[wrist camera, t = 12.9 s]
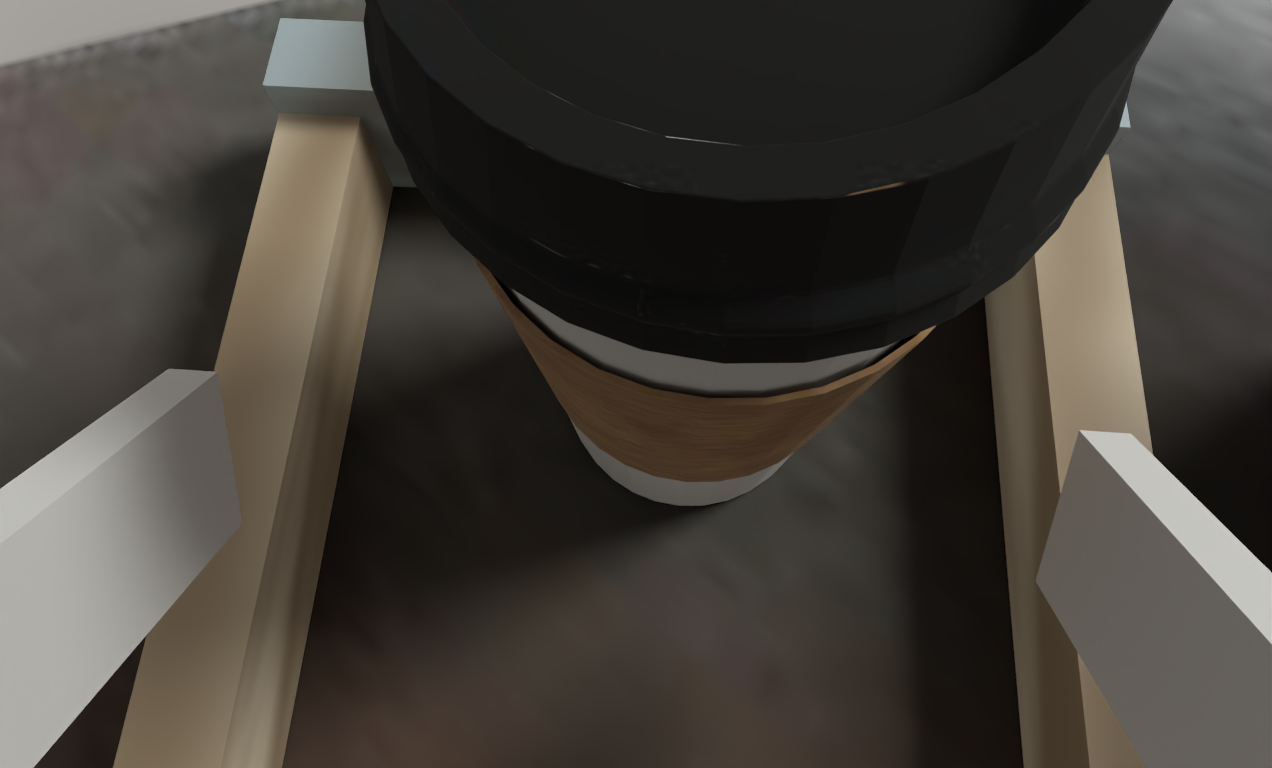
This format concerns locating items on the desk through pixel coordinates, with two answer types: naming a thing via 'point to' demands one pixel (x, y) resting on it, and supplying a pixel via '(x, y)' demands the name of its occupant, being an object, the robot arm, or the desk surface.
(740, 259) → the coffee cup
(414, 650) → the desk surface
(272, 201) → the guide channel
